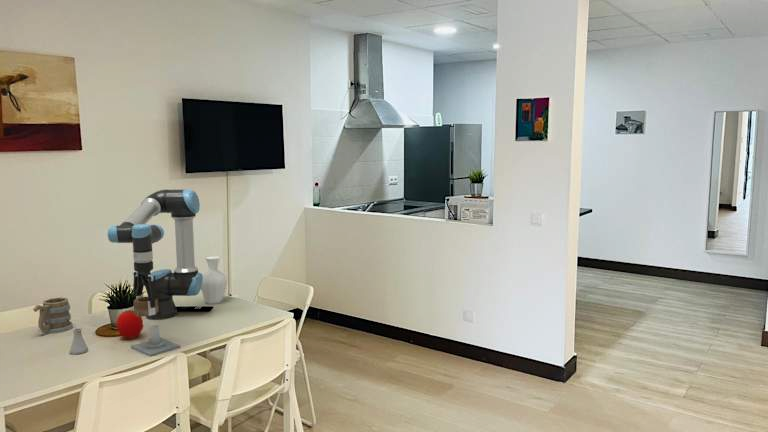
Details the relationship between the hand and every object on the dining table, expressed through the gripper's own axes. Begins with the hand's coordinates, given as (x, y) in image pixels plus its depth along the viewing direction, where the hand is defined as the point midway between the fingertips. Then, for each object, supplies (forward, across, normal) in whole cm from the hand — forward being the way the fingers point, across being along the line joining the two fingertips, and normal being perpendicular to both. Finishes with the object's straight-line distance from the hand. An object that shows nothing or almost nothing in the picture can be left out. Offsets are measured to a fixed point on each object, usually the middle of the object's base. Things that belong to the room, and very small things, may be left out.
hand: (146, 312), depth 249 cm
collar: (0, 0, 0) cm, 0 cm away
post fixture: (+16, +1, +3) cm, 16 cm away
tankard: (+17, -56, -18) cm, 61 cm away
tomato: (+16, -20, +2) cm, 26 cm away
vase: (+17, -41, +61) cm, 75 cm away
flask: (+16, -19, -21) cm, 33 cm away
